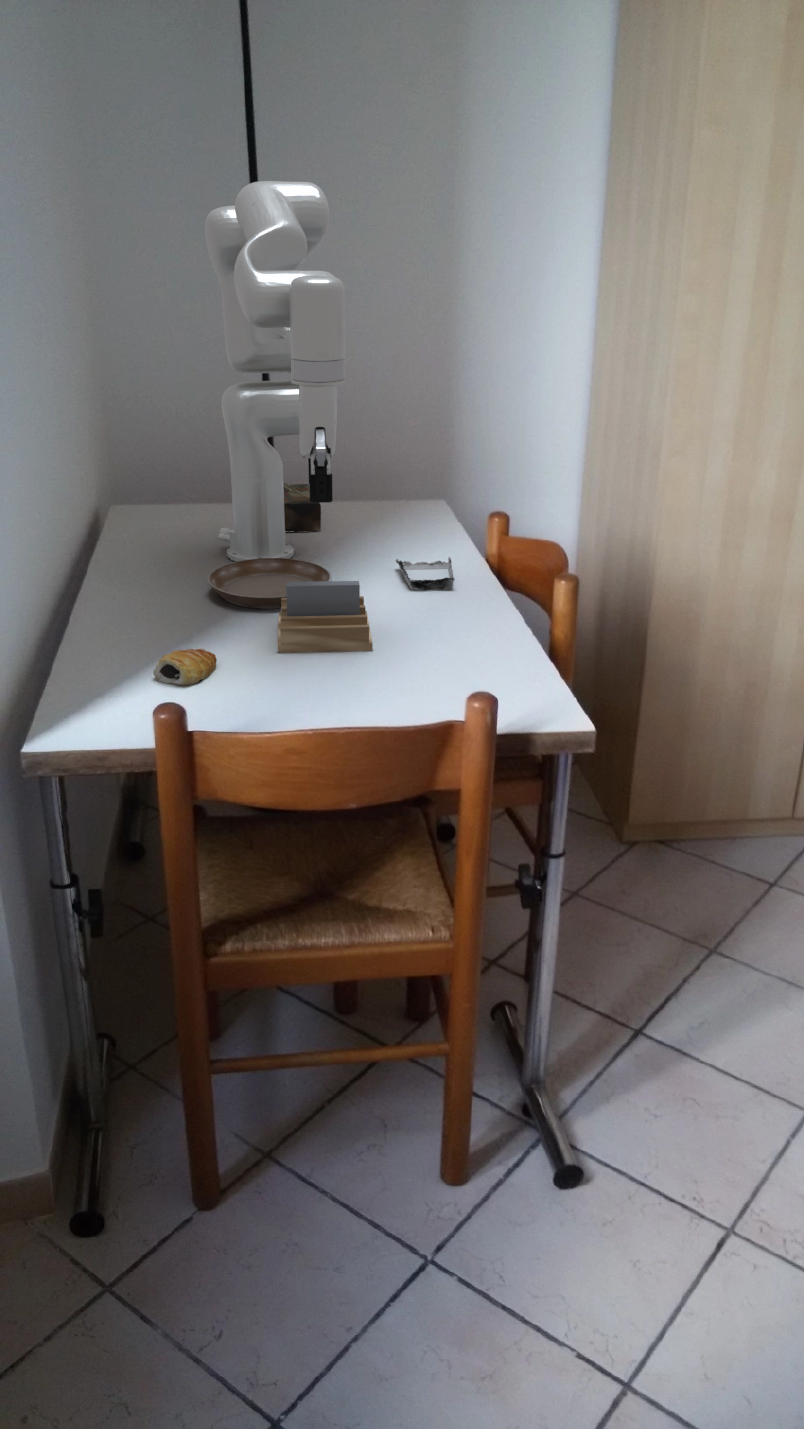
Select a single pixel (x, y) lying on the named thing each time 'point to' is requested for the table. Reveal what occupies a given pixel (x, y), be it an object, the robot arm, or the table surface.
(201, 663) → the pastry
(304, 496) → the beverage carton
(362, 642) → the board rack
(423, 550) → the table surface
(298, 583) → the slate board
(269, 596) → the plant saucer
